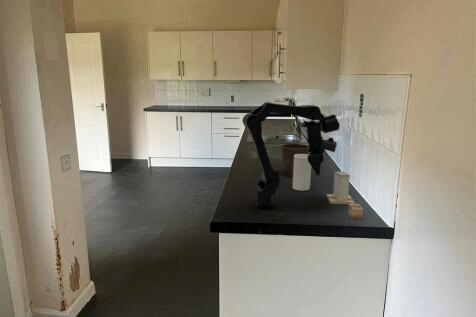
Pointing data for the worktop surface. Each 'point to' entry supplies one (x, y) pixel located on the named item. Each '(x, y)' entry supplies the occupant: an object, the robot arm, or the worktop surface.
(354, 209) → the oak block
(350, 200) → the trivet
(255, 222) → the worktop surface
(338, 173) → the tea caddy
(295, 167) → the cup
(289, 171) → the plant pot
